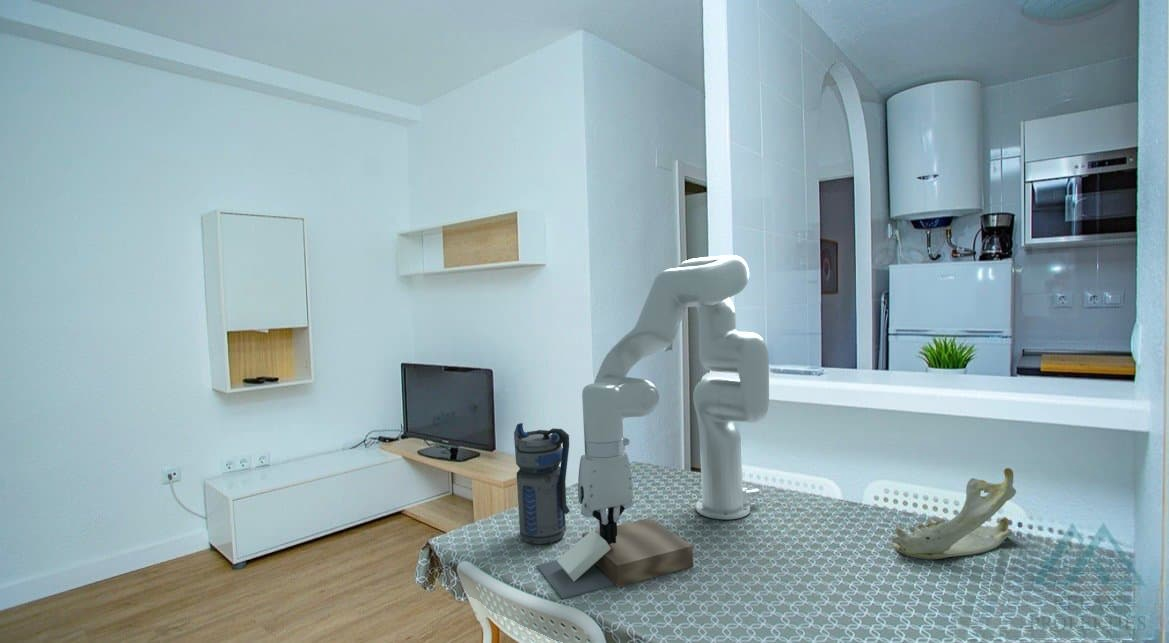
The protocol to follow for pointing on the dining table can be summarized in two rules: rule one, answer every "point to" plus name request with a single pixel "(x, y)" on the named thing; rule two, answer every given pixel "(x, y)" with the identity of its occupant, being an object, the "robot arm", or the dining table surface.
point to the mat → (570, 588)
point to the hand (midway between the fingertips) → (608, 541)
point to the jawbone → (962, 525)
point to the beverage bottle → (541, 483)
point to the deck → (643, 553)
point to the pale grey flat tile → (583, 555)
